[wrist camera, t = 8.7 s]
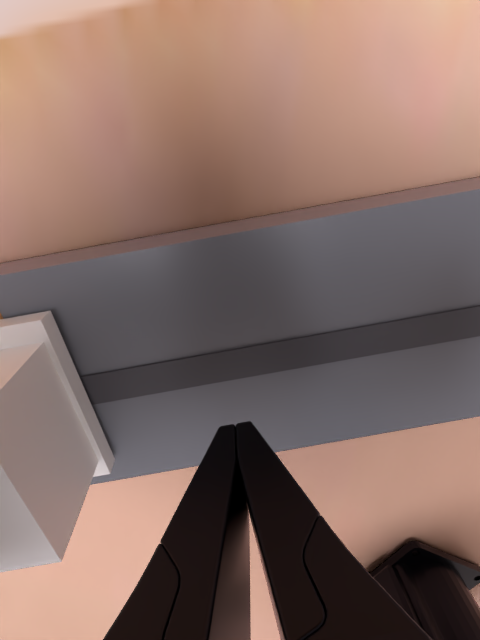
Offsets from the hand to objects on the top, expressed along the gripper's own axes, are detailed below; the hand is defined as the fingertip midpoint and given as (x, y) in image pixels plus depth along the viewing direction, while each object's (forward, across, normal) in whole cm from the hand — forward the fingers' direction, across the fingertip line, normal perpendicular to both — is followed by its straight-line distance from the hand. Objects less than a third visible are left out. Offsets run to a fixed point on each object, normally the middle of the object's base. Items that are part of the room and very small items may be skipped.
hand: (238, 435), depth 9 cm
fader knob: (+3, +7, 0) cm, 8 cm away
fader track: (+6, -2, 0) cm, 6 cm away
